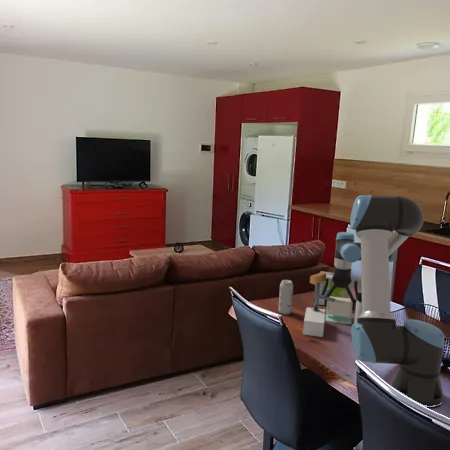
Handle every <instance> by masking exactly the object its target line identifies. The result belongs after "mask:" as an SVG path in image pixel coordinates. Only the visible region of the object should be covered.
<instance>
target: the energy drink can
mask: <svg viewBox="0 0 450 450" xmlns="http://www.w3.org/2000/svg"><path fill="white" fill-rule="evenodd" d="M293 294H294V284H293V281H292V280H289V279H282V280H281V282H280V284H279V295H278V296H279V297H278V312H279V314H281V315H285V316H286V315H287V316H288V315H290V314H291V313H292V312H293V310H292V309H293V297H294V296H293Z"/></svg>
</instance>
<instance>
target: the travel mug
mask: <svg viewBox="0 0 450 450" xmlns="http://www.w3.org/2000/svg"><path fill="white" fill-rule="evenodd" d="M354 311H355V313H354V321H353V322H354V323H356V322H357V317H358V316H359V315H360V314H361V313H362V292H358V293H357V301H356V304H355V310H354ZM354 323H353V324H354Z"/></svg>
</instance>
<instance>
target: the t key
mask: <svg viewBox="0 0 450 450" xmlns="http://www.w3.org/2000/svg"><path fill="white" fill-rule="evenodd" d="M325 280H326V273H322V272H321V273H320V272H318V273H316V274H312V275H310V276H309V284H311V285H314V298H313V307H312V308H313V310H315V311H318V309H319V298H321V299H324V300H327V301H331V302H335V299H334V298H330V297H327V296H324V295H320V294H319V292H320V282H322V281H325Z"/></svg>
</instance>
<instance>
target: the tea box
mask: <svg viewBox="0 0 450 450" xmlns="http://www.w3.org/2000/svg"><path fill="white" fill-rule="evenodd" d="M321 272H322V273H326V277H328V278H332V277H333V272H329V271H320V272H319V273H321ZM325 283H326V280H325V281H322V282H320V292H319V294H320V295H321V294H322V291H323V288H324V286H325ZM333 285H334V283H333V281H332V280H331V281H330V283H328V287H327V289H326V292H325V295H324V296H326V295H327V293H328V292H329V290H330V289H331V288H332V286H333ZM350 285H351V283H350V284H349V285H348V286H349V287H350ZM330 296H331V297H340V298H349V297H350V296H349V294H348V292H347V290H346V288H337V287H336V289H335V290H334V291H333V292H332V294H331V295H330ZM320 305H322V306H324V299H321V298H319V304H318V306H320ZM328 307H329V305H328Z"/></svg>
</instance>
